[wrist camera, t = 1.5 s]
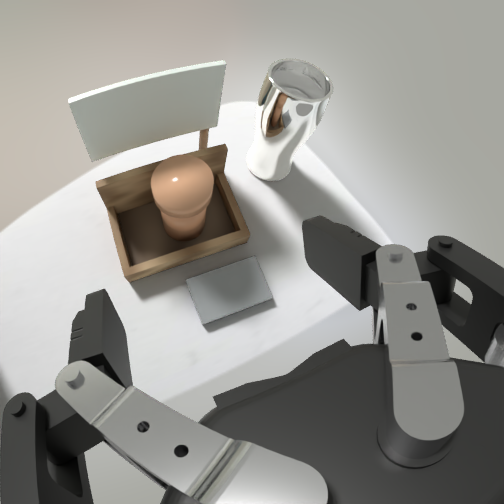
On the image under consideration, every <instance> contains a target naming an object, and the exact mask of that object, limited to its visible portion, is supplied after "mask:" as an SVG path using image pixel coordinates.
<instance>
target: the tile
mask: <svg viewBox="0 0 504 504" xmlns="http://www.w3.org/2000/svg"><path fill="white" fill-rule="evenodd" d="M186 283H187V286H188V289H189V291H190V294H191V297H192V299H193V302H194V305H195V307H196V310H197V313H198V315H199V318H200V320H201V323H202V325H204V324H207V323H210V322H212V321H215V320H218V319H220V318H223V317H226V316H228V315H231V314H234V313H236V312H239V311H242V310H244V309H247V308H249V307H252V306H255V305H257V304H260V303H262V302H265V301H267V300H270V299H272V298H273V297H272V294H271V292H270V290H269V287H268V285H267V282H266V280H265V278H264V275H263V273H262V271H261V268H260V266H259V264H258V261H257V259H256V257H255V256H252V257H249V258H247V259H244V260H241V261H238V262H235V263H232V264H229V265H226V266H224V267H221V268H218V269H215V270H212V271H209V272H206V273H203V274H200V275H198V276H195V277H192V278H189V279H186Z"/></svg>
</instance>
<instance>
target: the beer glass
mask: <svg viewBox="0 0 504 504" xmlns="http://www.w3.org/2000/svg"><path fill="white" fill-rule="evenodd" d="M332 93H333V84H332V82H331V80H330V78H329V77H328V75H327V74H326V73H325V72H324V71H322V70H321V69H320V68H318V67H317V66H315V65H313V64H311V63H308V62H306V61H302V60H298V59H281V60H278V61H276V62H274V63H272V64H271V65H270V67H269V69H268V73H267V75H266V77H265V80H264V82H263V85H262V88H261V90H260V93H259V97H258V101H257V105H256V112H255V138H254V142H253V144H252V146H251V147H250V149H249V150H248V152H247V155H246V164H247V166H248V168H249V170H250V171H251V172H252V173H253V174H254V175H255V176H256V177H258V178H260V179H263V180H266V181H278V180H281V179H283V178H284V177H286V176H287V175H288V174H289V172H290V170H291V166H292V161H293V157H294V155H295V153H296V152H297V151H298V150H299V148H300V147H301V146H302V145H303V144H304V143H305V142H306V141H307V139H308V138H309V137H310V136H311V135H312V133H313V132H314V131H315V129H316V128H317V126H318V124H319V122H320V121H321V119H322V116H323V114H324V112H325V110H326V107H327V105H328V102H329V99H330V97H331V95H332Z"/></svg>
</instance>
